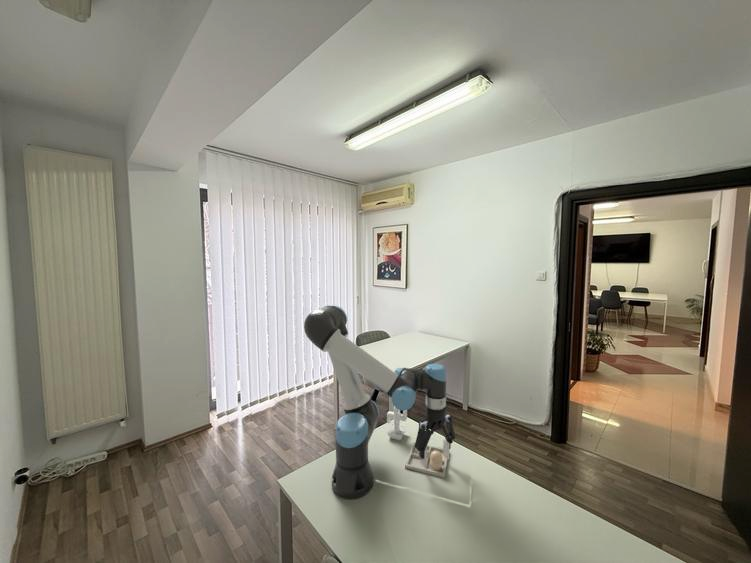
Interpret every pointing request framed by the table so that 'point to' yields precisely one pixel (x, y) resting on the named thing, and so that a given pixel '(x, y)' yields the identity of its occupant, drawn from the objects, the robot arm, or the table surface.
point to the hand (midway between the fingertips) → (435, 461)
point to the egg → (436, 461)
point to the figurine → (396, 424)
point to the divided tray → (415, 461)
